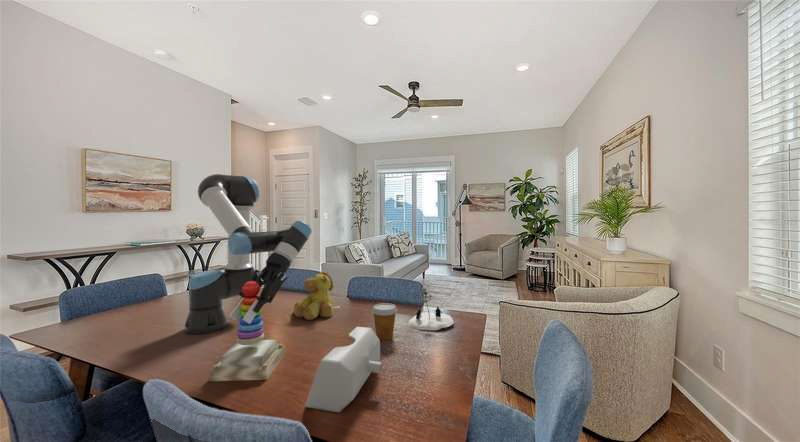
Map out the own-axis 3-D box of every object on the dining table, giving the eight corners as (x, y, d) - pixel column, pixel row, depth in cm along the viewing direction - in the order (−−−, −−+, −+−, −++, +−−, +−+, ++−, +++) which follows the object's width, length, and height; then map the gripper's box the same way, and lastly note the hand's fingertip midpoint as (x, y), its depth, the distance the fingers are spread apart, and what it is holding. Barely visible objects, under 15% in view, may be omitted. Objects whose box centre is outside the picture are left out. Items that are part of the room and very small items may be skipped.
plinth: (210, 381, 89) (209, 360, 89) (236, 355, 105) (236, 338, 105) (267, 379, 90) (266, 359, 90) (284, 354, 106) (284, 337, 106)
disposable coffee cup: (400, 334, 123) (400, 304, 123) (390, 344, 114) (389, 311, 114) (379, 330, 127) (379, 301, 127) (367, 339, 118) (367, 308, 118)
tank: (364, 420, 73) (364, 367, 72) (303, 409, 76) (303, 359, 76) (393, 368, 97) (393, 328, 96) (345, 362, 101) (345, 323, 100)
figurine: (455, 316, 142) (451, 281, 142) (452, 331, 124) (448, 291, 124) (412, 317, 147) (408, 283, 146) (404, 332, 129) (399, 293, 129)
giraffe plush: (285, 314, 148) (284, 274, 147) (324, 303, 167) (324, 267, 166) (311, 323, 135) (311, 280, 135) (351, 310, 154) (351, 271, 154)
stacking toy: (253, 347, 93) (252, 285, 92) (230, 345, 94) (228, 283, 94) (269, 336, 100) (268, 279, 100) (247, 335, 102) (246, 278, 101)
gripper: (307, 266, 106) (268, 330, 92) (269, 263, 115) (228, 321, 100) (295, 253, 101) (252, 318, 87) (256, 250, 110) (211, 309, 96)
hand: (239, 319), depth 94 cm, fingers closed on stacking toy, 5 cm apart
